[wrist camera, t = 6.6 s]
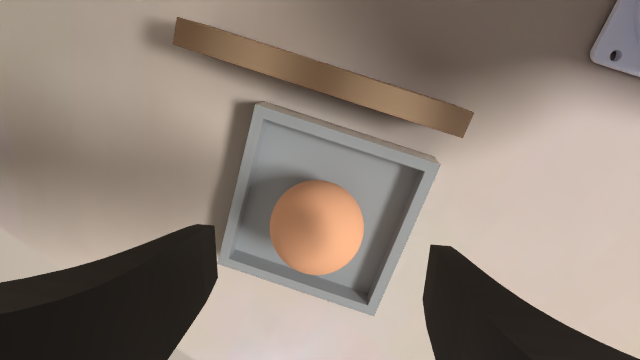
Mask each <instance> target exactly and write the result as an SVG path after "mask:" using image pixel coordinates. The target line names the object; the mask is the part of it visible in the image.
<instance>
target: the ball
mask: <svg viewBox="0 0 640 360" xmlns="http://www.w3.org/2000/svg"><path fill="white" fill-rule="evenodd" d="M363 234H364V221H363V216H362V213H361V210H360V207H359V205H358V204H357V202H356V200H355V199H354V198H353V197H352V195H351V194H350V193H349V192H348V191H347V190H345V189H344V188H342V187H341V186H339V185H337V184H335V183H332V182H328V181H323V180H310V181H305V182H302V183H299V184H297V185H295V186H293V187H291V188H290V189H289V190H287V191H286V192H285V193H284V194H283V195H282V196H281V197H280V199H279V200H278V201H277V203H276V205H275V207H274V209H273V212H272V215H271V219H270V236H271V241H272V244H273V246H274V249H275V250H276V252H277V254H278V255H279V257H280V258H281V259H282V260H283V261H284V262H285V263H286V264H287V265H288V266H290V267H291V268H293V269H295V270H297V271H299V272H302V273H305V274H310V275H324V274H329V273H332V272H335V271H337V270H339V269H341V268H342V267H344V266H345V265H346V264H348V263H349V262H350V261H351V260H352V258H353V257H354V256H355V255H356V253H357V252H358V250H359V248H360V245H361V242H362V239H363Z"/></svg>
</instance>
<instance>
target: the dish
mask: <svg viewBox="0 0 640 360" xmlns="http://www.w3.org/2000/svg"><path fill="white" fill-rule="evenodd" d="M439 167H440V163H439V162H438V161H437V160H436V158H435V157H433V156H430V155H427V154H424V153H421V152H418V151H415V150H412V149H409V148H406V147H403V146H399V145H396V144H393V143H390V142H387V141H384V140H381V139H378V138H375V137H372V136H369V135H366V134H363V133H360V132H357V131H353V130H350V129H347V128H344V127H341V126H338V125H335V124H332V123H329V122H326V121H323V120H320V119H317V118H314V117H311V116H307V115H304V114H301V113H298V112H295V111H292V110H289V109H286V108H283V107H280V106H277V105H274V104H271V103H268V102H265V101H263V102H260V103H257V104H255V107H254V112H253V116H252V120H251V124H250V128H249V133H248V137H247V141H246V145H245V150H244V154H243V158H242V162H241V166H240V171H239V175H238V179H237V183H236V188H235V192H234V196H233V200H232V204H231V209H230V213H229V217H228V221H227V226H226V230H225V234H224V238H223V242H222V247H221V251H220V255H219V259H218V264H220V265H223V266H226V267H229V268H232V269H235V270H238V271H241V272H244V273H247V274H250V275H253V276H256V277H258V278H261V279H264V280H267V281H270V282H273V283H276V284H279V285H282V286H285V287H288V288H291V289H294V290H297V291H300V292H303V293H306V294H309V295H312V296H315V297H318V298H321V299H324V300H327V301H330V302H333V303H336V304H339V305H342V306H345V307H348V308H351V309H354V310H357V311H360V312H363V313H366V314H369V315H372V316H374V315H375V313H376V311H377V308H378V306H379V304H380V301H381V299H382V297H383V295H384V292H385V290H386V288H387V286H388V283H389V281H390V279H391V276H392V274H393V272H394V270H395V267H396V265H397V263H398V260H399V258H400V256H401V254H402V251H403V249H404V247H405V245H406V242H407V240H408V238H409V235H410V233H411V231H412V229H413V226H414V224H415V222H416V220H417V217H418V215H419V213H420V210H421V208H422V206H423V204H424V201H425V199H426V197H427V195H428V192H429V190H430V188H431V185H432V183H433V181H434V179H435V176H436V174H437V172H438V170H439ZM310 180H323V181H328V182H332V183H335V184H337V185H339V186H341V187H342V188H344V189H345V190H347V191H348V192H349V193H350V194H351V195H352V197H353V198H354V199H355V200H356V202H357V204H358V205H359V207H360V210H361V213H362V216H363V221H364V234H363V239H362V242H361V245H360V248H359V250H358V252H357V253H356V255H355V256H354V257H353V258H352V260H351V261H350V262H349V263H348V264H346V265H345V266H344V267H342V268H341V269H339V270H337V271H335V272H332V273H329V274H324V275H310V274H305V273H302V272H299V271H297V270H295V269H293V268H291V267H290V266H288V265H287V264H286V263H285V262H284V261H283V260H282V259H281V258H280V257H279V255H278V254H277V252H276V250H275V249H274V246H273V244H272V241H271V236H270V219H271V215H272V212H273V209H274V207H275V205H276V203H277V201H278V200H279V199H280V197H281V196H282V195H283V194H284V193H285V192H286V191H287V190H289V189H290V188H291V187H293V186H295V185H297V184H299V183H302V182H305V181H310Z"/></svg>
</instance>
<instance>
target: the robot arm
mask: <svg viewBox="0 0 640 360" xmlns="http://www.w3.org/2000/svg"><path fill="white" fill-rule="evenodd" d="M613 51H615V52H616V58H615V59H614V60H613V61H611V60H610V54H611V53H612V52H613ZM590 58H591V60H592V61H593V62H594V63H597V64H600V65H603V66H606V67H609V68H612V69H615V70H619V71H622V72H625V73H628V74H631V75H634V76H637V77H640V0H617V2H616V4H615V6H614V8H613V10H612V12H611V13H610V15H609V17H608V19H607V21H606V23H605V25H604V27H603V29H602V30H601V32H600V34H599V36H598V38H597V40H596V42H595V44H594V45H593V47H592V49H591V52H590ZM217 278H218V273H217V258H216V244H215V229H214V226H212V225H201V224H196V225H192V226H189V227H186V228H183V229H180V230H178V231H175V232H173V233H170V234H168V235H165V236H163V237H160V238H158V239H155V240H153V241H150V242H148V243H145V244H143V245H140V246H137V247H134V248H132V249H129V250H126V251H123V252H121V253H118V254H115V255H112V256H109V257H106V258H103V259H100V260H97V261H94V262H90V263H87V264H83V265H80V266H76V267H72V268H69V269H64V270H60V271H56V272H51V273H47V274H42V275H38V276H33V277H29V278H24V279H18V280H13V281H7V282H1V283H0V360H168V358H169V357H170V355H171V354H172V352H173V351H174V349H175V348H176V347H177V345H178V344H179V342H180V341H181V339H182V338H183V336H184V335H185V333H186V332H187V330H188V329H189V327H190V326H191V324H192V323H193V321H194V320H195V318H196V317H197V315H198V314H199V312H200V311H201V309H202V308H203V306H204V305H205V303H206V301H207V299H208V297H209V295H210V293H211V291H212V289H213V287H214V285H215V283H216V281H217ZM423 305H424V313H425V320H426V326H427V330H428V334H429V338H430V341H431V345H432V349H433V352H434V356H435V359H436V360H640V359H638V358H635V357H633V356H631V355H628V354H626V353H623V352H621V351H619V350H617V349H614V348H612V347H610V346H608V345H605V344H603V343H601V342H599V341H597V340H595V339H593V338H591V337H589V336H587V335H585V334H583V333H581V332H579V331H577V330H575V329H573V328H571V327H569V326H567V325H565V324H563V323H561V322H559V321H557V320H556V319H554V318H552V317H550V316H549V315H547V314H545V313H544V312H542V311H540V310H539V309H537V308H535V307H533V306H532V305H530V304H529V303H527V302H525V301H524V300H522V299H521V298H519V297H518V296H516V295H515V294H514V293H512V292H511V291H509V290H508V289H506V288H505V287H503V286H502V285H501V284H499V283H498V282H497V281H495V280H494V279H493V278H491V277H490V276H489V275H487V274H486V273H485V272H483V271H482V270H481V269H480V268H478V267H477V266H476V265H475V264H473V263H472V262H471V261H470V260H468V259H467V258H466V257H465V256H463V255H462V254H461V253H459V252H458V251H457V250H455V249H454V248H452V247H451V246H441V245H431V246H430V253H429V260H428V266H427V273H426V280H425V287H424V293H423Z"/></svg>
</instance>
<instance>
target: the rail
mask: <svg viewBox="0 0 640 360" xmlns="http://www.w3.org/2000/svg"><path fill="white" fill-rule="evenodd" d="M173 44H174V45H177V46H180V47H183V48H186V49H189V50H192V51H196V52H199V53H202V54H205V55H208V56H211V57H214V58H217V59H220V60H223V61H226V62H229V63H233V64H236V65H239V66H242V67H245V68H248V69H251V70H254V71H257V72H260V73H263V74H266V75H269V76H273V77H276V78H279V79H282V80H285V81H288V82H291V83H294V84H297V85H300V86H303V87H306V88H310V89H313V90H316V91H319V92H322V93H325V94H328V95H331V96H334V97H337V98H340V99H343V100H347V101H350V102H353V103H356V104H359V105H362V106H365V107H368V108H371V109H374V110H377V111H380V112H384V113H387V114H390V115H393V116H396V117H399V118H402V119H405V120H408V121H411V122H414V123H417V124H421V125H424V126H427V127H430V128H433V129H436V130H439V131H442V132H445V133H448V134H451V135H454V136H458V137H461V138H463V136H464V134H465V132H466V130H467V127H468V125H469V123H470V121H471V119H472V116H473V114H474V113H473V112H471V111H468V110H466V109H463V108H461V107H458V106H456V105H453V104H450V103H447V102H444V101H441V100H438V99H435V98H432V97H428V96H425V95H422V94H419V93H416V92H413V91H410V90H407V89H404V88H401V87H397V86H394V85H391V84H388V83H385V82H382V81H379V80H376V79H373V78H370V77H366V76H363V75H360V74H357V73H354V72H351V71H348V70H345V69H342V68H339V67H335V66H332V65H329V64H326V63H323V62H320V61H317V60H314V59H311V58H308V57H304V56H301V55H298V54H295V53H292V52H289V51H286V50H283V49H280V48H277V47H273V46H270V45H267V44H264V43H261V42H258V41H255V40H252V39H249V38H246V37H242V36H239V35H236V34H233V33H230V32H227V31H224V30H221V29H218V28H215V27H211V26H208V25H205V24H201V23H197V22H194V21H190V20H186V19H183V18H179V17H177V21H176V28H175V34H174V41H173Z"/></svg>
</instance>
